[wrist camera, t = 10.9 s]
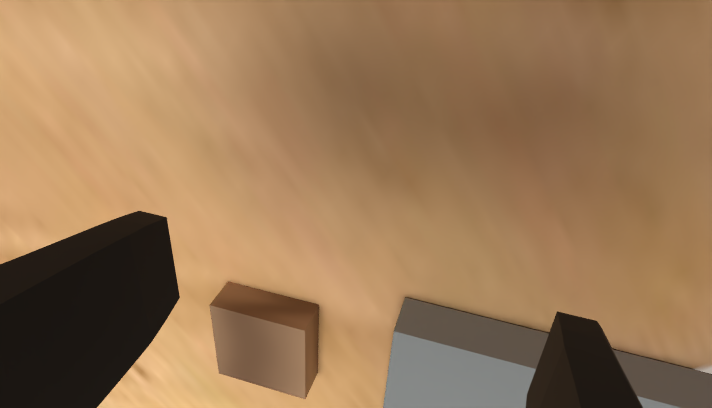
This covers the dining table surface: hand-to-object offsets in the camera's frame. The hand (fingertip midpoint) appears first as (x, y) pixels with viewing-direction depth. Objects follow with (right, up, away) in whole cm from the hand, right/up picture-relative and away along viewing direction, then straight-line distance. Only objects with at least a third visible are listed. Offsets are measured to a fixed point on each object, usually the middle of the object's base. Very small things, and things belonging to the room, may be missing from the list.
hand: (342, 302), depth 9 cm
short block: (-4, -4, +16) cm, 17 cm away
